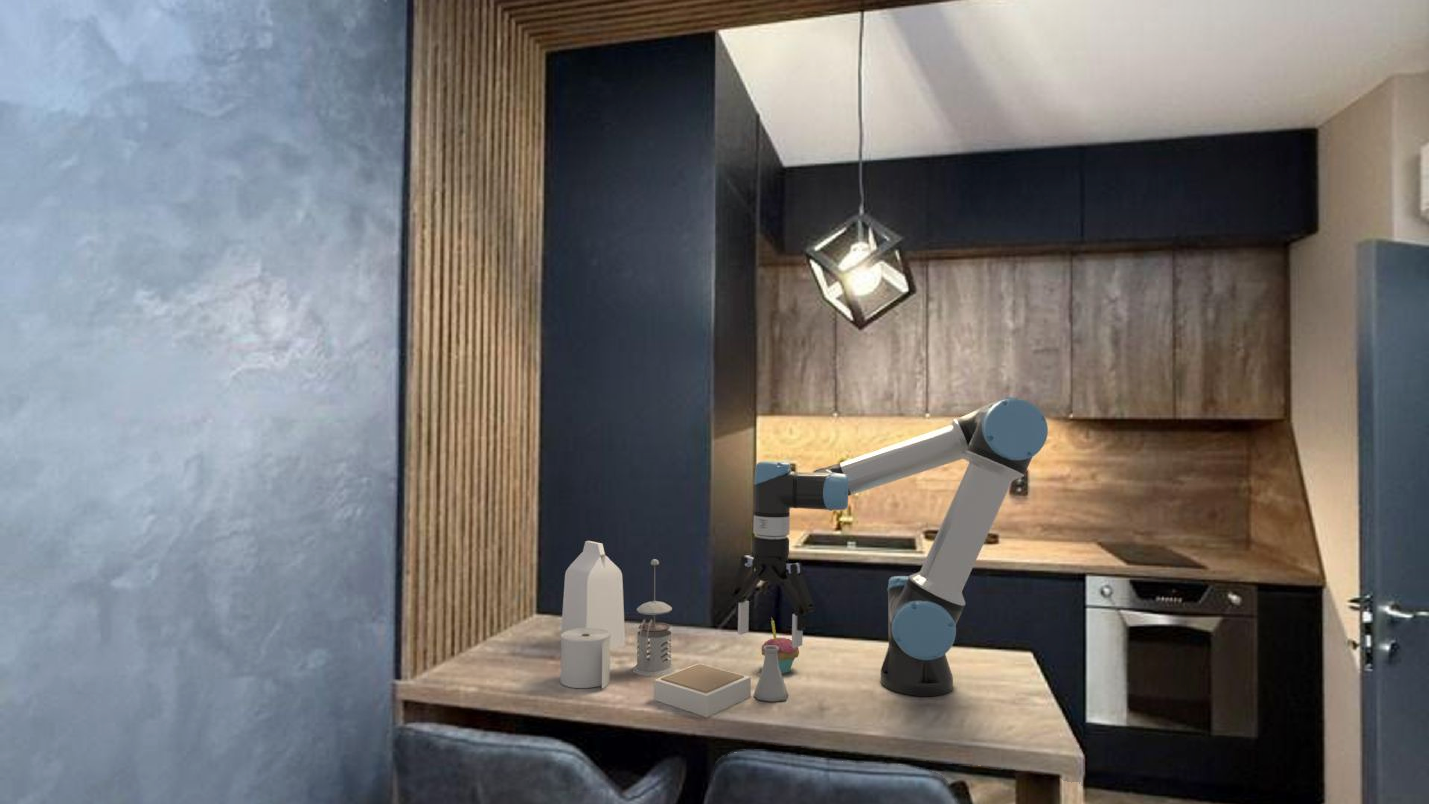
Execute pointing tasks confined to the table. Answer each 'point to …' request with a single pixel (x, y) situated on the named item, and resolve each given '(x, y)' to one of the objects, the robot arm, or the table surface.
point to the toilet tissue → (585, 658)
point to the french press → (653, 640)
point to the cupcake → (782, 651)
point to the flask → (771, 678)
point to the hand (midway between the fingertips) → (769, 639)
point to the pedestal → (702, 689)
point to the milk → (594, 594)
